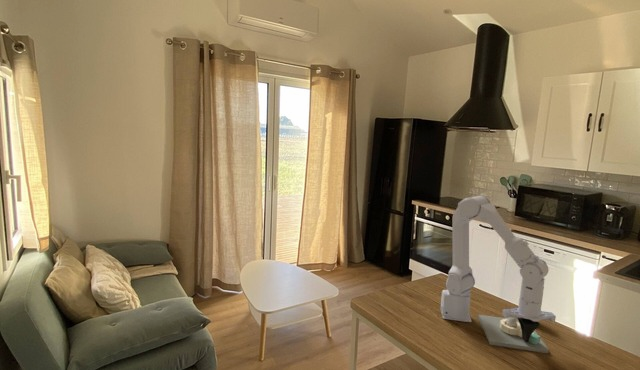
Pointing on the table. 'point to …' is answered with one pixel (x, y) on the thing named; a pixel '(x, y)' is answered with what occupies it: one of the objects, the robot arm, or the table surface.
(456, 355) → the table surface
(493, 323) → the post board
